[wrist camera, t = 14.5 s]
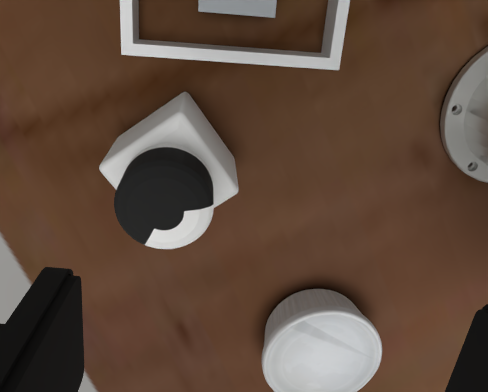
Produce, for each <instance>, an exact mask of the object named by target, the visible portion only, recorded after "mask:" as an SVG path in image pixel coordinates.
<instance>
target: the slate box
mask: <svg viewBox="0 0 488 392" xmlns="http://www.w3.org/2000/svg"><path fill="white" fill-rule="evenodd" d="M276 3H277V0H199V7H198V11H199V12H211V13H223V14H235V15H247V16H259V17H271V18H275V13H276Z"/></svg>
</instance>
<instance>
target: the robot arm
mask: <svg viewBox="0 0 488 392" xmlns="http://www.w3.org/2000/svg"><path fill="white" fill-rule="evenodd" d="M453 107H454V109H453V110H452V108H453ZM440 130H441V139H442V142H443V146H444V149H445V151H446V153H447V154H448V156H449V158H450V160H451V161H452V162H453V163H454V164H455V165H456V166H457V167H458V168H459V169H460V170H462V171H463V172H464V173H466V174H467V175H469V176H471V177H473V178H475V179H477V180H479V181H482V182H486V183H488V46H487V47H486V48H485V49H483V50H482V51H481V52H479V53H478V54H477V55H475V56H474V57H473V58H472V59H471V60H470V61H469V62H468V63H467V64H466V65H465V66H464V67H463V68H462V70H461V71H460V73H459V74H458V75H457V77H456V78H455V80H454V81H453V83H452V85H451V87H450V89H449V91H448V93H447V95H446V97H445V101H444V104H443V107H442V111H441V120H440ZM83 373H84V346H83V319H82V291H81V278H80V277H79V276H73V271H72V270H71V269H64V268H52V267H45V268H44V269H43V270H42V271H41V273H40V274H39V276H38V277H37V278H36V280H35V281H34V283H33V284H32V286H31V287H30V289H29V290H28V292H27V293H26V294H25V296H24V297H23V299H22V300H21V302H20V303H19V305H18V306H17V308H16V309H15V311H14V312H13V313H12V315H11V316H10V318H9V319H8V321H7V322H6V324H0V392H78V390H79V387H80V384H81V381H82V378H83ZM445 392H488V304H487V305H485V306H484V307H483V308H482V310H478V311H477V312H476V314H475V316H474V319H473V321H472V324H471V326H470V329H469V331H468V334H467V336H466V339H465V342H464V344H463V347H462V349H461V352H460V354H459V357H458V359H457V362H456V365H455V367H454V370H453V372H452V375H451V377H450V380H449V383H448V385H447V388H446V390H445Z"/></svg>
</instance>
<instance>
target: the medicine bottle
mask: <svg viewBox="0 0 488 392" xmlns="http://www.w3.org/2000/svg"><path fill="white" fill-rule="evenodd" d="M99 169H100V172H101V173H102V174H103V175H104V176H105V177H106V179H107V180H108V181H109V182H110V183H111V184H112V185H113V187H114V188H115V189H116V193H115V198H114V207H115V213H116V216H117V219H118V221H119V223H120V225H121V226H122V228H123V229H124V230H125V231H126V233H127V234H128V235H130V236H131V237H132V238H133V239H135V240H136V241H138V242H140V243H142V244H144V245H146V246H149V247H153V248H158V249H174V248H179V247H183V246H185V245H188V244H190V243H192V242H193V241H195V240H196V239H197V238H199V237H200V236H201V235H202V234H203V233H204V232H205V230H206V229H207V228H208V226H209V224H210V222H211V219H212V215H213V208H215V207H216V206H218V205H220V204H221V203H223V202H224V201H226V200H228V199H229V198H231V197H232V196H234V195H236V194H237V193H238V190H239V188H238V181H237V173H236V166H235V159H234V157H233V155H232V154H231V152H230V151H229V150H228V148H227V147H226V145H225V144H224V143H223V141H222V140H221V138H220V137H219V135H218V134H217V133H216V131H215V130H214V128H213V127H212V126H211V124H210V123H209V121H208V120H207V118H206V117H205V116H204V114H203V113H202V111H201V110H200V109H199V107H198V106H197V104H196V103H195V101H194V100H193V99H192V97H191V96H190V94H189V93H188V92H183V93H181V94H180V95H178V96H177V97H175V98H174V99H172V100H171V101H169V102H168V103H167V104H165V105H164V106H162V107H161V108H159V109H158V110H156V111H155V112H153V113H152V114H151V115H149V116H148V117H146V118H145V119H143V120H142V121H140V122H139V123H137V124H136V125H135V126H133V127H132V128H130V129H129V130H127V131H126V132H124V133H123V134H121V135H120V136H119V137H118V138H117V139H116V141H115V142H114V144H113V145H112V147H111V149H110V150H109V152H108V153H107V155H106V156H105V158H104V160H103V161H102V163H101V164H100V166H99Z"/></svg>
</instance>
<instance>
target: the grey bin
mask: <svg viewBox="0 0 488 392" xmlns="http://www.w3.org/2000/svg"><path fill="white" fill-rule="evenodd" d="M349 3H350V0H328V6H327V14H326V21H325V28H324V35H323V42H322V49H321V53H316V52H303V51H289V50H276V49H262V48H249V47H236V46H222V45H209V44H195V43H182V42H169V41H155V40H142V39H139V0H120V22H121V55H133V56H147V57H161V58H175V59H189V60H203V61H217V62H231V63H245V64H259V65H273V66H287V67H301V68H315V69H329V70H339V67H340V60H341V54H342V48H343V41H344V35H345V29H346V22H347V16H348V10H349Z"/></svg>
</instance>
